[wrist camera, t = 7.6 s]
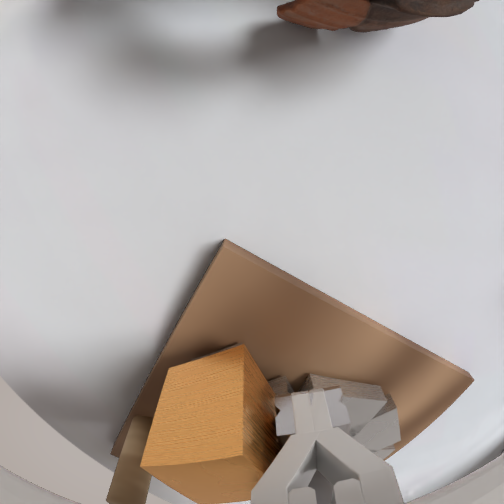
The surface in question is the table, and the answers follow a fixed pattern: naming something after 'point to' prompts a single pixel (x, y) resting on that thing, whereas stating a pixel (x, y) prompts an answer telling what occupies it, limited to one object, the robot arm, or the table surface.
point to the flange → (242, 424)
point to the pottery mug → (367, 12)
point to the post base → (286, 355)
